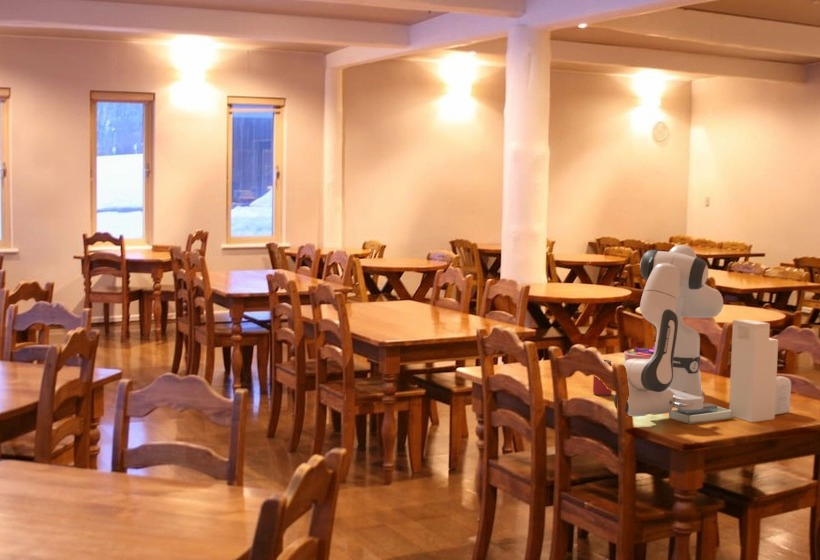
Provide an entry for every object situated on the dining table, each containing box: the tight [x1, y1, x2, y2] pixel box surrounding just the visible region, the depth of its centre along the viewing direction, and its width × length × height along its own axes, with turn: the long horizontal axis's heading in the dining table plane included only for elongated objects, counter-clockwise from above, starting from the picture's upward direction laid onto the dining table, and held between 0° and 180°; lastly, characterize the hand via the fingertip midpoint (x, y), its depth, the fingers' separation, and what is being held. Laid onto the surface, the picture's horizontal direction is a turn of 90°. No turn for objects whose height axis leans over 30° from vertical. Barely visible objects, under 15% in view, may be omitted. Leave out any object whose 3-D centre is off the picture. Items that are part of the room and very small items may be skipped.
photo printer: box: [775, 375, 792, 416], centre depth 347 cm, size 10×4×12 cm, turn 123°
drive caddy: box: [677, 402, 718, 415], centre depth 339 cm, size 4×13×4 cm, turn 117°
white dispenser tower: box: [728, 318, 779, 423], centre depth 340 cm, size 10×10×32 cm
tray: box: [668, 405, 734, 425], centre depth 339 cm, size 9×18×2 cm, turn 117°
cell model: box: [623, 344, 655, 362], centre depth 416 cm, size 17×20×11 cm
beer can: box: [592, 359, 613, 397], centre depth 374 cm, size 7×7×12 cm
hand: (694, 396), depth 337 cm, fingers open, 6 cm apart
